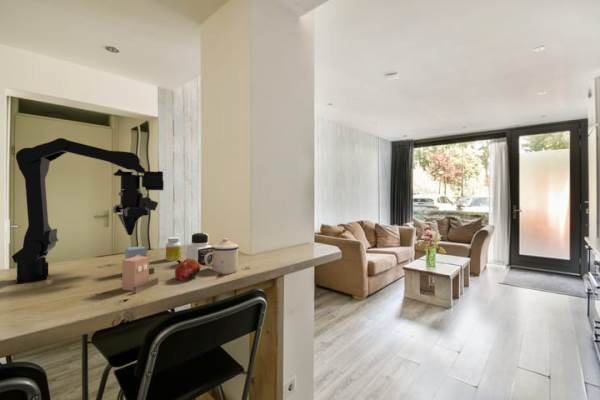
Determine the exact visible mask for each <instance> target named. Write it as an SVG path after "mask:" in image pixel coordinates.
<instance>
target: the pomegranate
mask: <svg viewBox="0 0 600 400" xmlns="http://www.w3.org/2000/svg"><path fill="white" fill-rule="evenodd" d="M175 263H178V265H177V267H176V268H175V269H174V276H175V279H176V281H180V282H185V281H188V280H189V279H192V278H193V279H194V280H196V279H197V278H196V277H195V276H196V275H197V274H199V272H200V270H201V269H202V265H200V264H199V263H198V262H197V261H196V260H194V259H184V260H183V261H181V260H177V261H175Z"/></svg>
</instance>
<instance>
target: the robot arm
mask: <svg viewBox="0 0 600 400" xmlns="http://www.w3.org/2000/svg"><path fill="white" fill-rule="evenodd" d="M66 153H68V154H74V155H77V156H81V157H86V158H90V159H95V160H100V161H103V162H108V163H110V164H112V165H116V166H118V167H119V168H118V169H117V171H115V172H114V173H113V176H116V177H120V192H118V196H120V203H119V204H115V205H114V206H113V209H112V213H113V214H117V213H119V214H117V217H118V218H119V220H120V223H121V224H122V226H123V228H124V230H125V232H126V235H128V236H133V233H134V230H135V226H136V223H137V221H138V220H139V219H140V218H142V217H143V216H149V213H150V212H149V211H153V212H156V209H157V208H158V204H159V202H158V201H155V200H152V199H151V197H148V196H145V197H143V193H142V192H141V187H142V188H145V191H164V182H165V181H164V172H163V171H161V170H160V171H149V170H148V171H147V170H146V168H145V167H143V165H141V164H142V162H141V158H140V157H139V156H138V155H137V154H136V153H133V152H131V151H120V150H108V149H104V148H100V147H96V146H92V145H88V144H85V143H80V142H76V141H72V140H69V139H66V138H63V137H59V138H58V137H57V138H56V139H53V140H51V141H47V142H45V143H40V144H38V145H35V146H33V147H23V148H21V149H20V150H18V151H17V152H16V154H15V160H16V163H17V166H18V169H19V171H20V172H21V175H22V176H23V178H24V183H25V184H24V186H25V196H26V210H27V212H26V213H27V222H28V223H27V224H28V225H27V229H26V231H25V233H24V234H25V235H24V237H23V243H22V244H23V245H22V248H21V249H19V250H18V251H17V252H16V253H14V254H13V255H11V258H12V261H13V262H14V264H16V277H15V282H16V284H22V283H30V282H36V281H42V280H47V277H48V276H49V262H48V261H47V259H46V258H47V257H46V256H47V255H48V254H49V252H50V251H51V250H53V249H54V247H56V243H57V242H58V241H59V239H58V237H57V234H58V228H51V225H50V224H49V216H48V214H49V213H48V202H47V189H46V177H47V174H48V172H49V170H50V164H51V163H50V162H52V161H55V160H56V159H59V158H60V157H62V156H63V155H64V154H66ZM121 168H122V169H126V170H127V171H123V170H122V169H121ZM133 171H135V172H137V173H138V174H134V172H133Z"/></svg>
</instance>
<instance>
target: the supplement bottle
mask: <svg viewBox="0 0 600 400" xmlns="http://www.w3.org/2000/svg"><path fill="white" fill-rule="evenodd" d="M181 259H182V244H181V242H180V237H179V236H169V237H168V238H167V243H166V245H165V261H167V262H176V261H178V260H179V261H181Z"/></svg>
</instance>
